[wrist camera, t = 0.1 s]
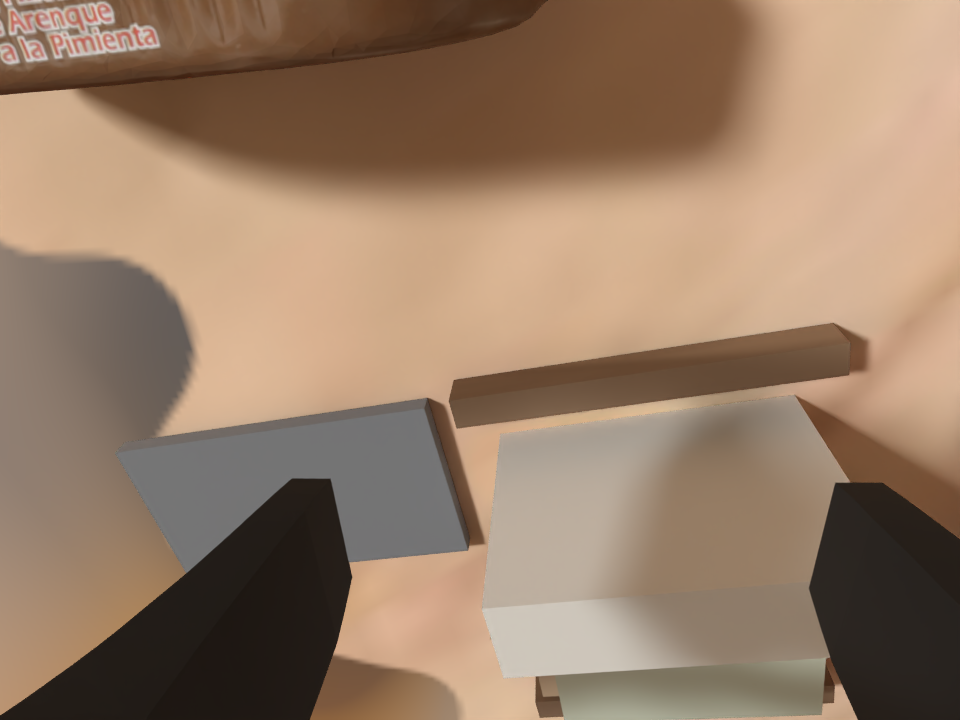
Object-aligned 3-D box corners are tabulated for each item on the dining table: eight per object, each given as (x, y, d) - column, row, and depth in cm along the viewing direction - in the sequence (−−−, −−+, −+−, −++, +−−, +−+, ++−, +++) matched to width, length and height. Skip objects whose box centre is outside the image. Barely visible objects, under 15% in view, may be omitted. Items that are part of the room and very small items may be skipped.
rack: (821, 673, 25) (834, 702, 24) (540, 689, 27) (540, 717, 26) (833, 323, 18) (850, 342, 17) (453, 380, 20) (448, 400, 19)
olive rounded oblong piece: (803, 642, 25) (833, 717, 22) (544, 655, 26) (544, 727, 24) (807, 567, 23) (840, 639, 20) (528, 586, 25) (526, 655, 22)
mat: (469, 538, 23) (468, 550, 23) (196, 566, 25) (189, 578, 25) (427, 398, 20) (424, 408, 20) (125, 442, 22) (114, 452, 22)
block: (793, 459, 20) (898, 653, 14) (515, 492, 22) (503, 678, 16) (793, 394, 19) (908, 573, 13) (500, 432, 21) (482, 608, 15)
